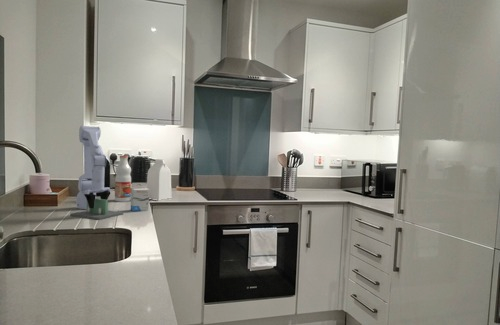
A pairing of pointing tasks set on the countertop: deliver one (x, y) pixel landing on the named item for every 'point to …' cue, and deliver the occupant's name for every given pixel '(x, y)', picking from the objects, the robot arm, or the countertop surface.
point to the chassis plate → (96, 214)
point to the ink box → (139, 197)
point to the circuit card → (99, 206)
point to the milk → (159, 181)
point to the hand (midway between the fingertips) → (97, 207)
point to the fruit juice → (123, 181)
